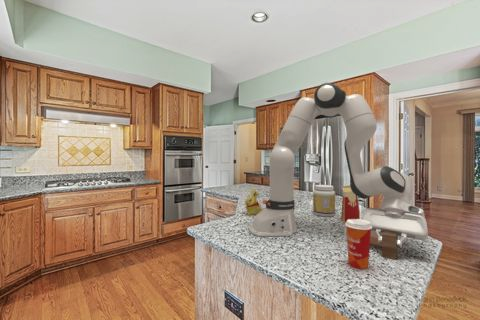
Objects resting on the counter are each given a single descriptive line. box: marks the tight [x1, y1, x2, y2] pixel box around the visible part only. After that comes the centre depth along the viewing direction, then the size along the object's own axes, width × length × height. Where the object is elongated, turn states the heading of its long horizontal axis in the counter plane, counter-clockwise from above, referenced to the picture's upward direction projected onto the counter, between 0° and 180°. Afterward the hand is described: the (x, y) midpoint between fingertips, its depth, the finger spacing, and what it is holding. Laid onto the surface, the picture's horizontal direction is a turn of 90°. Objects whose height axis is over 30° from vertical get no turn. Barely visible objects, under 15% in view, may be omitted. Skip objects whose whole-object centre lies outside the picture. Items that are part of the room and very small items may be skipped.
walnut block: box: [381, 231, 399, 261], centre depth 82 cm, size 4×4×8 cm
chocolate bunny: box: [244, 188, 263, 216], centre depth 138 cm, size 7×11×15 cm, turn 112°
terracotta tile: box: [370, 231, 382, 247], centre depth 96 cm, size 10×10×3 cm
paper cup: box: [344, 218, 372, 270], centre depth 75 cm, size 8×8×14 cm
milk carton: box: [340, 184, 361, 224], centre depth 124 cm, size 9×9×20 cm
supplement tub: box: [312, 184, 336, 218], centre depth 138 cm, size 12×12×17 cm
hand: (389, 244), depth 81 cm, fingers closed on walnut block, 4 cm apart
